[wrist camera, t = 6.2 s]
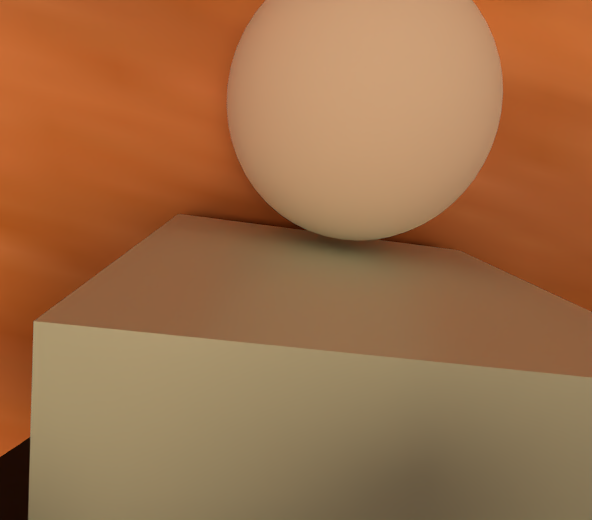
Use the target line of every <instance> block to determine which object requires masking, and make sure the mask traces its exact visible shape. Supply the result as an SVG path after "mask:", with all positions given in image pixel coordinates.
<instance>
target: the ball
mask: <svg viewBox="0 0 592 520" xmlns="http://www.w3.org/2000/svg"><path fill="white" fill-rule="evenodd" d="M502 99H503V81H502V70H501V64H500V58H499V54H498V51H497V48H496V44H495V41H494V38H493V36H492V33H491V31H490V29H489V27H488V24H487V22H486V20H485V19H484V17H483V16H482V14H481V12H480V11H479V9H478V7H477V6H476V5H475V3H474V2H473V1H472V0H265V2H264V3H263V4H262V5H261V6H260V8H259V9H258V10H257V11H256V12H255V14H254V16H253V17H252V19H251V20H250V22H249V24H248V25H247V27H246V28H245V30H244V32H243V35H242V37H241V39H240V41H239V43H238V46H237V48H236V51H235V54H234V58H233V61H232V64H231V68H230V74H229V80H228V85H227V117H228V126H229V131H230V135H231V140H232V144H233V147H234V150H235V153H236V155H237V158H238V161H239V163H240V165H241V167H242V169H243V171H244V173H245V175H246V176H247V178H248V179H249V181H250V182H251V184H252V185H253V187H254V188H255V190H256V191H257V192H258V193H259V194H260V196H261V197H262V198H263V199H264V200H265V201H266V202H267V203H268V204H269V205H270V206H271V207H272V208H273V209H274V210H276V211H277V212H278V213H279V214H280V215H282V216H283V217H285V218H286V219H288V220H289V221H291V222H292V223H294V224H296V225H298V226H300V227H302V228H304V229H306V230H308V231H311V232H314V233H317V234H320V235H323V236H327V237H332V238H336V239H341V240H354V241H362V240H376V239H381V238H387V237H391V236H394V235H398V234H401V233H404V232H407V231H409V230H412V229H414V228H416V227H418V226H420V225H422V224H425V223H426V222H428V221H429V220H431V219H433V218H434V217H436V216H438V215H439V214H440V213H442V212H443V211H444V210H445V209H447V208H448V207H449V206H450V205H452V204H453V203H454V202H455V201H456V200H457V199H458V198H459V197H460V196H461V195H462V194H463V193H464V192H465V190H466V189H467V188H468V186H469V185H470V184H471V183H472V181H473V180H474V179H475V177H476V176H477V174H478V172H479V171H480V169H481V168H482V166H483V164H484V162H485V160H486V158H487V156H488V154H489V152H490V150H491V147H492V145H493V142H494V139H495V136H496V133H497V130H498V125H499V121H500V116H501V110H502Z"/></svg>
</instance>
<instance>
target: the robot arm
mask: <svg viewBox="0 0 592 520" xmlns="http://www.w3.org/2000/svg"><path fill="white" fill-rule="evenodd" d="M29 469H30V437H29V438H28V439H27V440H25V441H24V442H22V443H21V444H19V445H18V446H16V447H15V448H13V449H12V450H10V451H9V452H7V453H6V454H4V455H3V456H1V457H0V520H28V504H29Z"/></svg>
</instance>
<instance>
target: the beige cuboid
mask: <svg viewBox="0 0 592 520" xmlns="http://www.w3.org/2000/svg"><path fill="white" fill-rule="evenodd" d="M28 520H592V312H591V311H589V310H587V309H584V308H582V307H580V306H578V305H576V304H574V303H571V302H569V301H567V300H565V299H563V298H561V297H559V296H556V295H554V294H552V293H550V292H548V291H546V290H544V289H541V288H539V287H537V286H535V285H533V284H531V283H529V282H526V281H524V280H522V279H520V278H518V277H516V276H513V275H511V274H509V273H507V272H505V271H503V270H501V269H498V268H496V267H494V266H492V265H490V264H488V263H486V262H483V261H481V260H479V259H477V258H475V257H473V256H471V255H468V254H466V253H464V252H462V251H460V250H454V249H446V248H438V247H431V246H423V245H415V244H408V243H400V242H392V241H384V240H377V239H376V240H362V241H354V240H341V239H336V238H332V237H327V236H323V235H320V234H317V233H314V232H311V231H307V230H300V229H292V228H284V227H277V226H269V225H261V224H253V223H246V222H238V221H230V220H223V219H215V218H207V217H200V216H192V215H184V214H177V215H176V216H175V217H173V218H172V219H171V220H169V221H168V222H167V223H165V224H164V225H163V226H161V227H160V228H159V229H157V230H156V231H154V232H153V233H152V234H150V235H149V236H148V237H146V238H145V239H144V240H142V241H141V242H140V243H138V244H137V245H136V246H134V247H133V248H132V249H130V250H129V251H128V252H126V253H125V254H123V255H122V256H121V257H119V258H118V259H117V260H115V261H114V262H113V263H111V264H110V265H109V266H107V267H106V268H105V269H103V270H102V271H101V272H99V273H98V274H96V275H95V276H94V277H92V278H91V279H90V280H88V281H87V282H86V283H84V284H83V285H82V286H80V287H79V288H78V289H76V290H75V291H74V292H72V293H71V294H69V295H68V296H67V297H65V298H64V299H63V300H61V301H60V302H59V303H57V304H56V305H55V306H53V307H52V308H51V309H49V310H48V311H47V312H45V313H44V314H43V315H41V316H40V317H38V318H37V319H36V320H34V325H33V361H32V397H31V433H30V469H29V504H28Z"/></svg>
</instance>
